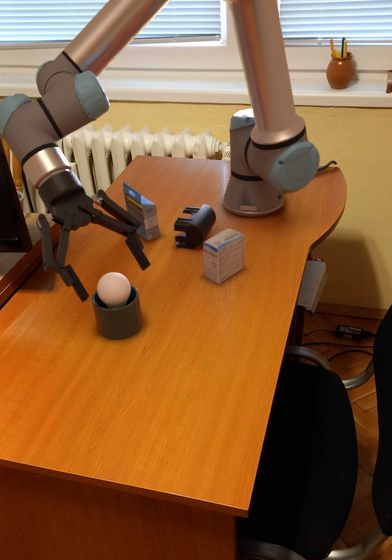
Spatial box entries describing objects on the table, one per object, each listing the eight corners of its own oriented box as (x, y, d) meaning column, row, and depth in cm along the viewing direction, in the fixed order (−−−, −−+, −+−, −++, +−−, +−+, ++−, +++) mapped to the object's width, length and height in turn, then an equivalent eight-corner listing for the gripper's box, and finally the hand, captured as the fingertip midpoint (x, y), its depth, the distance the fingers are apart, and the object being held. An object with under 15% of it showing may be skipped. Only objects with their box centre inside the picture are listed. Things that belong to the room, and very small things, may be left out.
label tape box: (160, 236, 132) (155, 188, 124) (146, 242, 131) (140, 193, 122) (142, 223, 138) (136, 175, 130) (128, 228, 136) (121, 180, 128)
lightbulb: (105, 335, 104) (95, 287, 97) (103, 316, 109) (93, 268, 101) (137, 329, 105) (130, 281, 98) (133, 310, 109) (126, 263, 102)
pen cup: (135, 307, 111) (130, 278, 107) (148, 332, 105) (144, 302, 101) (93, 318, 109) (86, 289, 105) (104, 345, 103) (98, 315, 98)
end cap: (204, 252, 126) (202, 225, 121) (175, 248, 128) (172, 222, 123) (216, 231, 133) (216, 205, 128) (189, 227, 135) (187, 201, 130)
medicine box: (229, 262, 122) (228, 226, 116) (244, 269, 120) (244, 233, 114) (204, 277, 118) (202, 241, 112) (219, 285, 116) (218, 249, 110)
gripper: (105, 168, 108) (162, 262, 109) (-12, 214, 96) (53, 319, 97) (117, 148, 101) (177, 248, 102) (-7, 195, 89) (63, 308, 90)
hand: (117, 283), depth 100 cm, fingers open, 13 cm apart
